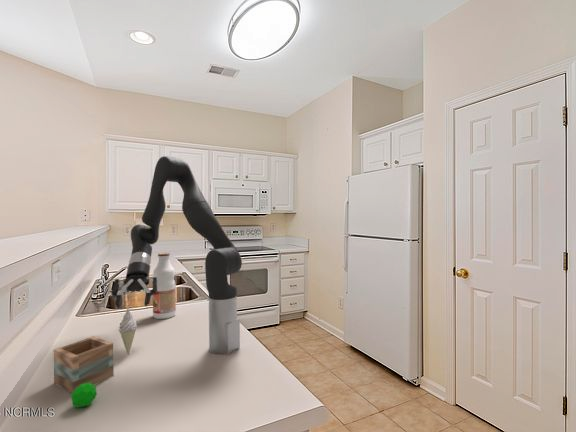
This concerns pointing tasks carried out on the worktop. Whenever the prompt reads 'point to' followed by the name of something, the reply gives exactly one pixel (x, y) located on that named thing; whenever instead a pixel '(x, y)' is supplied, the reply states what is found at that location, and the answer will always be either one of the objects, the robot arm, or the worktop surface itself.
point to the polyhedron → (83, 395)
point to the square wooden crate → (83, 363)
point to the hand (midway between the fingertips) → (132, 305)
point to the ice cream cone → (127, 330)
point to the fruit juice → (164, 288)
